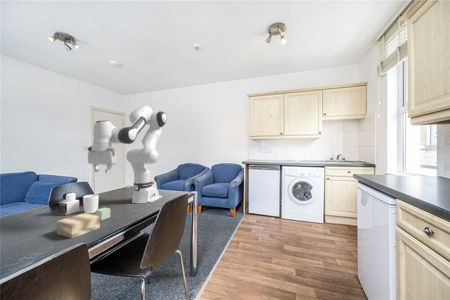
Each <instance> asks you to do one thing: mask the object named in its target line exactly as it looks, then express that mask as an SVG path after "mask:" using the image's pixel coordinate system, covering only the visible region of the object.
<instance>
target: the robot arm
mask: <svg viewBox="0 0 450 300" xmlns="http://www.w3.org/2000/svg"><path fill="white" fill-rule="evenodd" d="M128 116H129V121H130V122H131V125H130V126H127V127H117V126H115V125H114V124H112V122H111V120H97V121H95V123H94V125H93V133H92V134H93V142H92V145H91V146H88V147H87V163H88V164H89V165H92V167H93V170H94V171H93V172H94V173H99V172H100V168H99V165H101V166H102V165H105V166H106V169H105V170H104V173H106V174H109V173H111V168H112V167H113V165H114V166H116V165H117V164H118V157H117V156H118V155H117V152H116V150H115V148H112V146H113V145H112V144H124V145H125V144H126V145H127V144H128V145H131V144H133V143H134V142H135V141H136V139H137V137H138V135H139V134H140V132H141V131H142V130H143V129H144V128H145V126H146V125H149V127H148V129H147V130H146V132H145V134H144V135H143V138H142V139H141V143H142V145H143V148H141V149H139V148H135V149H131V150H129V151H128V152H127V153H126V155H125V156H126V157H125V158H126V161H127V162H129V164H130V165H131V168H132V170H133V178H134V179H133V195H132V200H131V203H132V204H148V203H154V202H156V201H157V200H159V199H161V198H163V195H161V194H159V193H160V192H159V190H158V189H157V188H156V187H154V186H153V185H155V181H151V171H150V170H149V169H148V168H147V166H146V165H151V164H155V163H157V162H158V159H159V153H158V151H157V150H156V149H157V145H158V142H159V140H160V138H161V135H162V133H163V132H162V131H163V128H162V127H164V126H165V125H166V123H167V122H168V121H167V120H168V116H167V113H166V112H164V111H162V110H159V111H158V110H153V109H152V107H150V106H149V105H146V104H144V105H141V106H139V107H137V108H135V109H134V110H133V111H132V112H131V113H130V114H129V115H128Z"/></svg>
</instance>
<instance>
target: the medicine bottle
mask: <svg viewBox="0 0 450 300" xmlns="http://www.w3.org/2000/svg"><path fill="white" fill-rule="evenodd" d="M76 198H77V196H76V192H65V193H63V195H62V201H59V202H58V214H60V215H64V214H65V216H68V215H71V214H75V213H77V212H80V199H76Z"/></svg>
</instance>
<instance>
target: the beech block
mask: <svg viewBox="0 0 450 300" xmlns="http://www.w3.org/2000/svg"><path fill="white" fill-rule="evenodd" d="M100 223H101V220H100V216H96V214H93V213H80V214H77V215H76V214H75V215H74V216H69V217H65V218H63V219H59V220H57V221H56V233H57V234H58V235H61V236H63V237H67V238H69V239H74V238H76V237H80V236H82V235H84V234H87V233H89V232H92V231H95V230H97V229H99V228H100V227H101V224H100Z"/></svg>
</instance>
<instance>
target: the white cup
mask: <svg viewBox="0 0 450 300" xmlns="http://www.w3.org/2000/svg"><path fill="white" fill-rule="evenodd" d="M99 196H100V195H99V194H97V193H95V194H94V193H93V194H86V195H84V196H82V201H83V202H82V203H83V210H84V213H88V214H93V213H96V210H98V209H99Z"/></svg>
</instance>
